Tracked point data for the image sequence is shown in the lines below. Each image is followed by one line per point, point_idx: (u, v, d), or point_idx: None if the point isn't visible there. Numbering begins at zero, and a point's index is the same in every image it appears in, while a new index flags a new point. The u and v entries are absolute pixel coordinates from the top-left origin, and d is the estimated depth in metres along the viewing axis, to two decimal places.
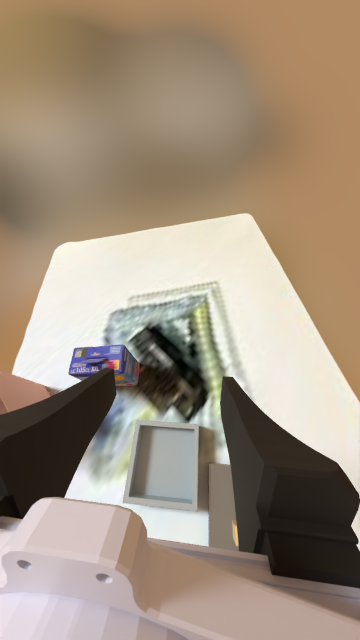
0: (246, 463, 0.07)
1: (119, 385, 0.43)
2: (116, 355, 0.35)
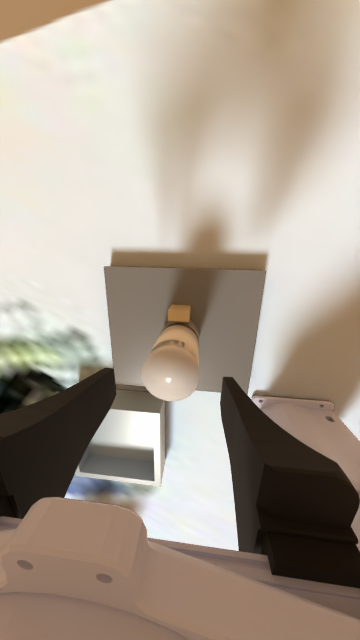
0: (246, 463, 0.07)
1: None
2: None
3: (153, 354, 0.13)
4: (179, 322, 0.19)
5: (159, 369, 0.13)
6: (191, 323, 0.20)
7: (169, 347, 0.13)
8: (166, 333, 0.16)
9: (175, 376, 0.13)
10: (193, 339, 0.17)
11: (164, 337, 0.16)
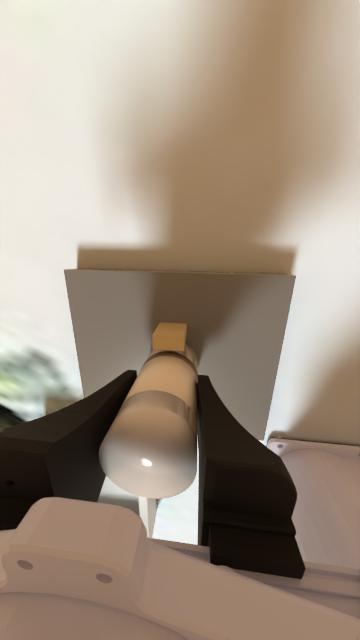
0: (202, 458, 0.07)
1: None
2: None
3: (117, 427, 0.07)
4: (170, 350, 0.13)
5: (128, 451, 0.08)
6: (187, 349, 0.14)
7: (146, 412, 0.08)
8: (148, 372, 0.11)
9: (157, 463, 0.08)
10: (189, 381, 0.11)
11: (143, 382, 0.10)
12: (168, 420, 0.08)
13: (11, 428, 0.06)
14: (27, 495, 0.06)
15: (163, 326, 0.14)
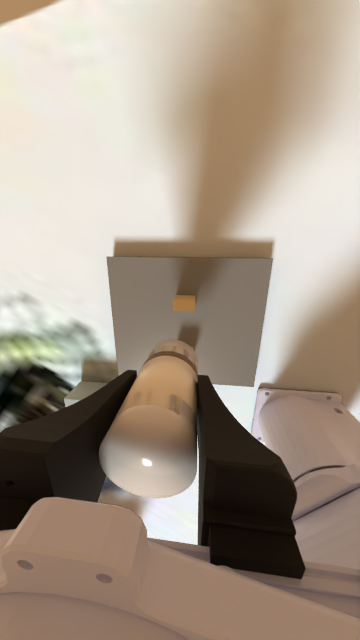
0: (202, 458, 0.07)
1: None
2: None
3: (117, 426, 0.07)
4: (170, 349, 0.13)
5: (128, 451, 0.08)
6: (187, 349, 0.14)
7: (146, 412, 0.08)
8: (148, 372, 0.11)
9: (157, 463, 0.08)
10: (189, 381, 0.11)
11: (143, 381, 0.10)
12: (168, 420, 0.08)
13: (11, 429, 0.06)
14: (27, 495, 0.06)
15: (179, 296, 0.19)
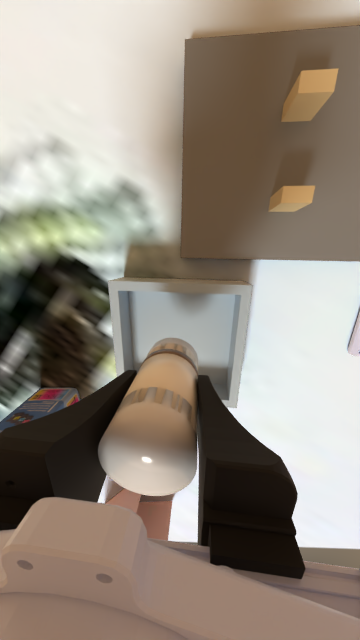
0: (202, 458, 0.07)
1: None
2: None
3: (119, 422, 0.07)
4: (172, 347, 0.13)
5: (129, 447, 0.08)
6: (189, 348, 0.14)
7: (149, 409, 0.08)
8: (150, 369, 0.11)
9: (157, 461, 0.08)
10: (191, 380, 0.11)
11: (145, 378, 0.10)
12: (171, 418, 0.08)
13: (11, 428, 0.06)
14: (27, 495, 0.06)
15: None
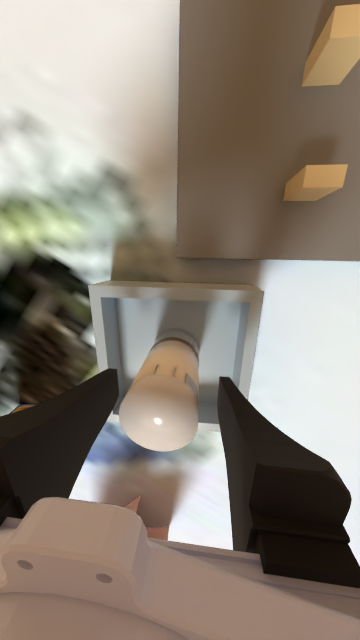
0: (240, 462, 0.07)
1: None
2: None
3: (136, 388, 0.09)
4: (176, 336, 0.15)
5: (144, 409, 0.09)
6: (190, 337, 0.16)
7: (160, 378, 0.10)
8: (158, 352, 0.13)
9: (166, 420, 0.10)
10: (193, 362, 0.13)
11: (155, 359, 0.12)
12: (177, 385, 0.09)
13: None
14: None
15: None
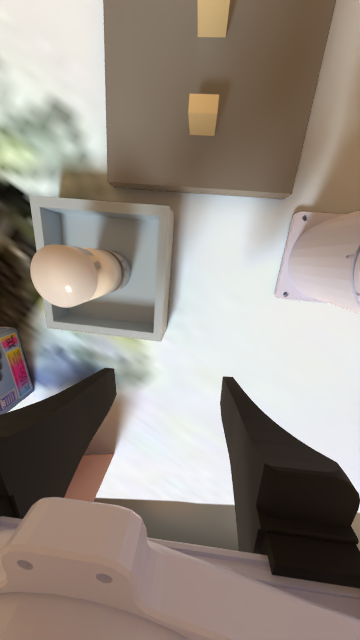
0: (246, 463, 0.07)
1: (17, 358, 0.24)
2: None
3: (42, 248, 0.12)
4: None
5: (49, 266, 0.12)
6: (121, 256, 0.19)
7: (63, 245, 0.12)
8: None
9: (66, 276, 0.12)
10: (109, 260, 0.16)
11: None
12: (76, 250, 0.12)
13: None
14: None
15: None
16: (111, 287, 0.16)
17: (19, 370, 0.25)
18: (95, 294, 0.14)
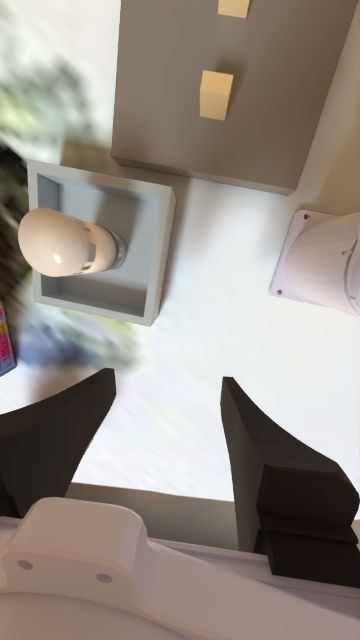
0: (246, 463, 0.07)
1: (1, 332, 0.24)
2: None
3: (33, 210, 0.12)
4: (101, 226, 0.17)
5: (38, 231, 0.12)
6: (118, 235, 0.18)
7: None
8: None
9: (55, 243, 0.12)
10: (103, 235, 0.15)
11: None
12: (68, 217, 0.12)
13: None
14: None
15: None
16: (103, 264, 0.16)
17: (2, 344, 0.24)
18: (85, 267, 0.14)
